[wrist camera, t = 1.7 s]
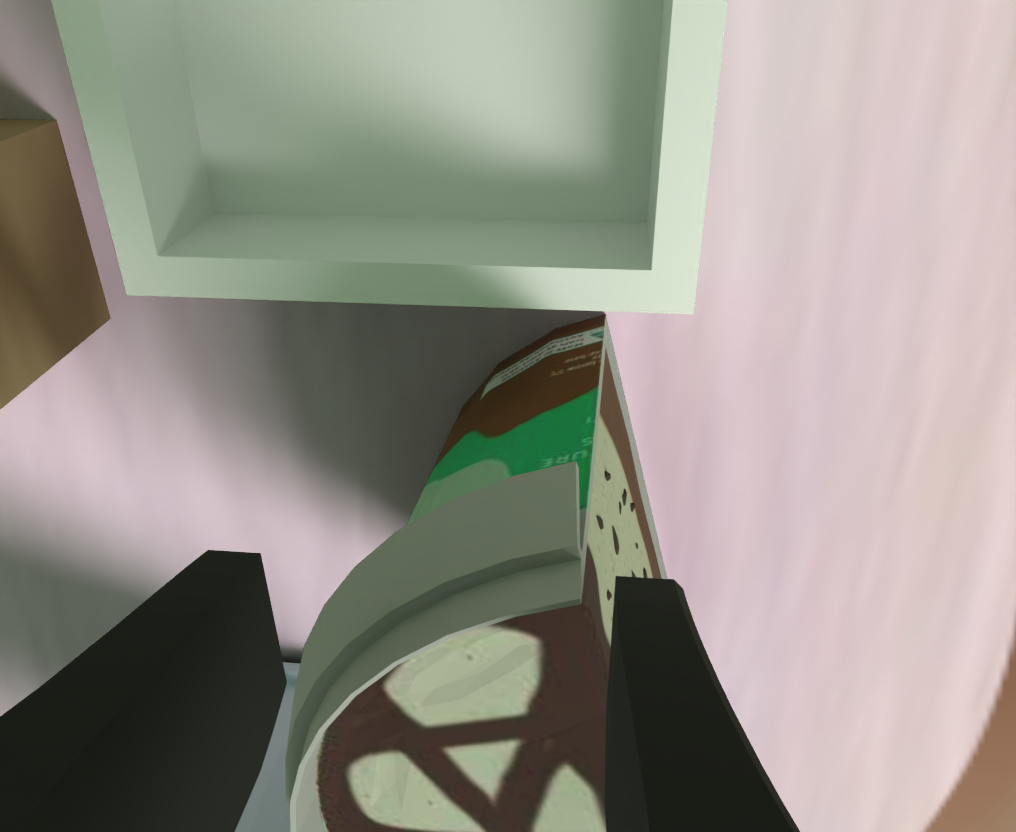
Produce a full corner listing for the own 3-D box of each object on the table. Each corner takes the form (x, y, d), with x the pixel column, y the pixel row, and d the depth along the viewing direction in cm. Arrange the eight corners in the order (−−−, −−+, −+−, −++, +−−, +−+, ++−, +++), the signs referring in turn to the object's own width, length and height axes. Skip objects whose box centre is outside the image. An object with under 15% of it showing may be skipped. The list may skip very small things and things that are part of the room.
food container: (323, 308, 19) (94, 629, 11) (591, 249, 18) (569, 562, 9) (476, 687, 25) (406, 1089, 17) (687, 664, 24) (728, 1089, 15)
